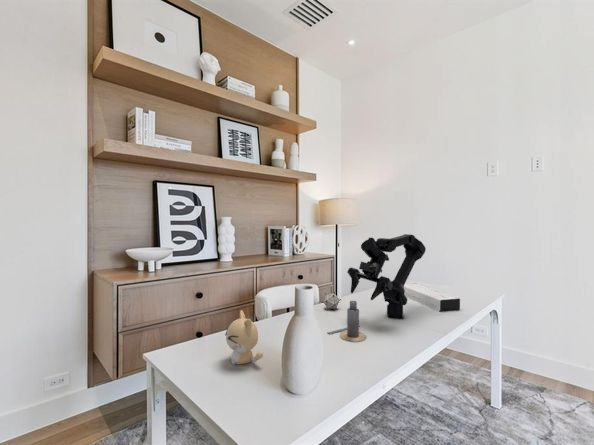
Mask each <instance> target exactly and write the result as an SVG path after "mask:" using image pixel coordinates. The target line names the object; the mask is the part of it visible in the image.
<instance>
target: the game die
mask: <svg viewBox="0 0 594 445" xmlns="http://www.w3.org/2000/svg"><path fill="white" fill-rule="evenodd" d="M324 294H325V296H324V299H323V300H322V301H321V304H322V303H323V304H324V306H325V307H326V308H327V311H329V309H330V310H331V309H336V310H338V305H339V303H340V302H341V301H342V299H339V297H338V295H336V291H334V292H333V293H332V292H331V293H327V292H324Z"/></svg>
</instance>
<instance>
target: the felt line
mask: <svg viewBox="0 0 594 445" xmlns="http://www.w3.org/2000/svg"><path fill="white" fill-rule="evenodd" d="M360 327H361V326H360V325H359V328H360ZM344 331H347V327H344V328H339V329H336V330H333V331H329V332H327V335H329V336H330V335H334V334H337V333H341V332H344Z"/></svg>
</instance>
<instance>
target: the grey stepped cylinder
mask: <svg viewBox="0 0 594 445" xmlns="http://www.w3.org/2000/svg"><path fill="white" fill-rule="evenodd" d="M357 307H358V304H357V300H350V301H349V307H348V308H347V309H346V311H347V312H346V328H347V330H346V331H347V336H348V337H351V338H357V337H359V332H360V327H359V326H360V309H359V308H357Z"/></svg>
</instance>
